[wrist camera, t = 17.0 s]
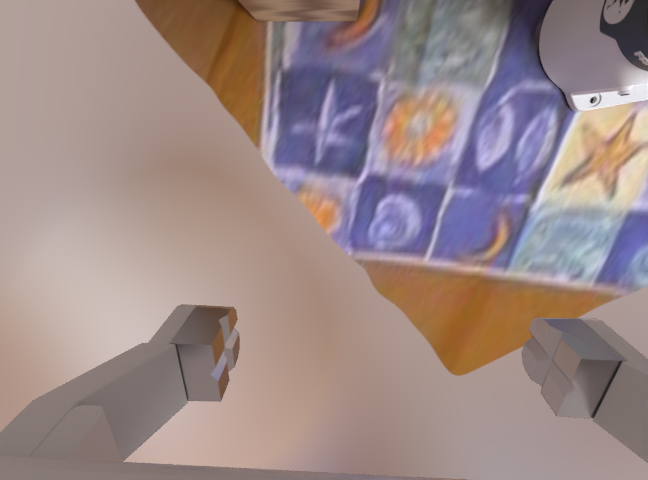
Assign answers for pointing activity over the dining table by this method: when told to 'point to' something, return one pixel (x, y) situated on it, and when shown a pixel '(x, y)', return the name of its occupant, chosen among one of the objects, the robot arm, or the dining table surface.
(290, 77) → the dining table surface
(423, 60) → the dining table surface
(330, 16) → the wood grain block
